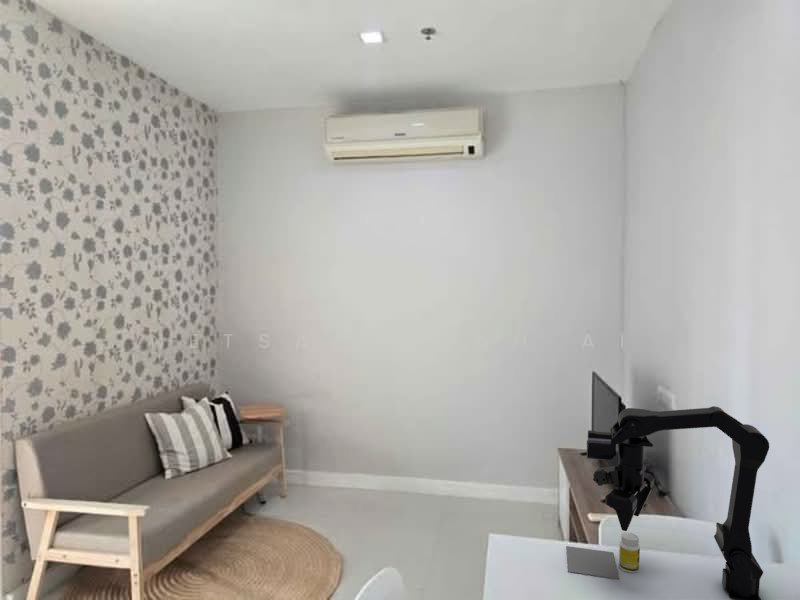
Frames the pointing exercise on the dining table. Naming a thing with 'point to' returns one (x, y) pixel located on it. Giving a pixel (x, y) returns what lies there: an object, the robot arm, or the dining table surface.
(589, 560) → the mat
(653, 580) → the dining table surface
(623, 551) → the supplement bottle
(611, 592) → the dining table surface
